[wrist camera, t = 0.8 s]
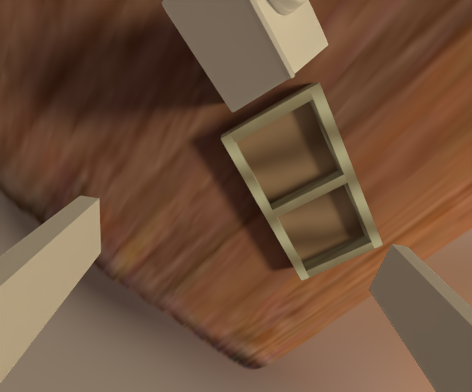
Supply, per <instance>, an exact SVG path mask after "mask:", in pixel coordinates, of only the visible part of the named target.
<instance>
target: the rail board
mask: <svg viewBox="0 0 472 392" xmlns="http://www.w3.org/2000/svg"><path fill="white" fill-rule="evenodd" d="M221 141H222V142H223V144H224V146H225V148H226V149H227V151H228V153H229V155H230V156H231V158H232V160H233V162H234V163H235V165H236V167H237V169H238V170H239V172H240V174H241V176H242V177H243V179H244V181H245V183H246V184H247V186H248V188H249V190H250V191H251V193H252V195H253V196H254V198H255V200H256V202H257V203H258V205H259V207H260V209H261V210H262V212H263V214H264V216H265V217H266V219H267V221H268V223H269V224H270V226H271V228H272V230H273V231H274V233H275V235H276V237H277V238H278V240H279V242H280V244H281V245H282V247H283V249H284V251H285V252H286V254H287V256H288V258H289V259H290V261H291V263H292V265H293V266H294V268H295V270H296V272H297V273H298V275H299V277H300V279H301V280H304V279H307V278H309V277H311V276H313V275H316V274H318V273H320V272H322V271H325V270H327V269H329V268H331V267H334V266H336V265H338V264H341V263H343V262H345V261H347V260H350V259H352V258H354V257H356V256H359V255H361V254H363V253H365V252H368V251H370V250H372V249H374V248H377V247H379V246H381V245H383V244H382V241H381V239H380V236H379V234H378V231H377V229H376V226H375V223H374V221H373V218H372V216H371V213H370V211H369V208H368V205H367V203H366V200H365V198H364V195H363V193H362V190H361V188H360V185H359V182H358V180H357V177H356V175H355V172H354V170H353V167H352V164H351V162H350V159H349V157H348V154H347V152H346V149H345V147H344V144H343V141H342V139H341V136H340V134H339V131H338V129H337V126H336V124H335V121H334V118H333V116H332V113H331V111H330V108H329V106H328V103H327V100H326V98H325V95H324V93H323V90H322V88H321V85H320V83H310V84H308V85H306V86H305V87H303V88H301V89H299V90H298V91H296V92H294V93H292V94H291V95H289V96H287V97H285V98H284V99H282V100H280V101H278V102H277V103H275V104H273V105H271V106H270V107H268V108H266V109H264V110H263V111H261V112H259V113H257V114H256V115H254V116H252V117H250V118H249V119H247V120H245V121H243V122H242V123H240V124H238V125H236V126H235V127H233V128H231V129H229V130H228V131H226V132H224V133H222V134H221Z"/></svg>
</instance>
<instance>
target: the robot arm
mask: <svg viewBox="0 0 472 392" xmlns="http://www.w3.org/2000/svg"><path fill="white" fill-rule="evenodd" d="M100 253H101V243H100V207H99V198H92V197H86V196H79V197H78V198H77V199H75V200H74V201H73V202H71V203H70V204H69V205H67V206H66V207H65V208H63V209H62V210H61V211H59V212H58V213H57V214H55V215H54V216H53V217H51V218H50V219H49V220H47V221H46V222H45V223H43V224H42V225H41V226H39V227H38V228H37V229H35V230H34V231H33V232H32V233H30V234H29V235H28V236H26V237H25V238H24V239H22V240H21V241H20V242H18V243H17V244H16V245H14V246H13V247H12V248H10V249H9V250H8V251H6V252H5V253H4V254H3V255H1V256H0V383H1V382H2V381H3V379H4V378H5V377H6V375H7V374H8V373H9V371H10V370H11V369H12V368H13V366H14V365H15V364H16V362H17V361H18V360H19V358H20V357H21V356H22V355H23V353H24V352H25V351H26V349H27V348H28V347H29V345H30V344H31V343H32V342H33V340H34V339H35V337H36V336H37V335H38V334H39V332H40V331H41V330H42V328H43V327H44V326H45V325H46V323H47V322H48V321H49V319H50V318H51V317H52V315H53V314H54V313H55V311H56V310H57V309H58V307H59V306H60V305H61V304H62V302H63V301H64V300H65V298H66V297H67V296H68V294H69V293H70V292H71V291H72V289H73V288H74V287H75V285H76V284H77V283H78V281H79V280H80V279H81V277H82V276H83V275H84V274H85V272H86V271H87V270H88V268H89V267H90V266H91V264H92V263H93V262H94V261H95V259H96V258H97V257H98V255H99V254H100ZM369 290H370V292H371V293H372V295H373V297H374V298H375V300H376V301H377V303H378V304H379V305H380V307H381V309H382V310H383V312H384V313H385V315H386V316H387V318H388V319H389V321H390V322H391V324H392V325H393V327H394V328H395V330H396V331H397V333H398V334H399V336H400V338H401V339H402V341H403V342H404V344H405V345H406V347H407V348H408V350H409V351H410V353H411V354H412V356H413V357H414V359H415V360H416V362H417V363H418V365H419V366H420V368H421V369H422V371H423V372H424V374H425V375H426V377H427V379H428V380H429V382H430V383H431V385H432V386H433V388H434V389H435V391H436V392H472V307H471V306H470V305H468V303H466V302H465V301H464V300H463V299H462V298H461V297H460V296H459V295H458V294H457V293H456V292H455V291H454V290H453V289H452V288H451V287H450V286H448V285H447V284H446V283H445V282H444V281H443V280H442V279H441V278H440V277H439V276H438V275H437V274H436V273H434V271H433V270H431V269H430V268H429V267H428V266H427V265H426V264H425V263H424V262H423V261H422V260H421V259H420V258H419V257H418V256H417V255H416V254H415V253H414V252H412V251H411V250H410V249H409V248H408V247H407V246H401V245H395V244H391V246H390V248H389V250H388V252H387V254H386V256H385V258H384V260H383V262H382V264H381V266H380V268H379V270H378V272H377V274H376V276H375V278H374V280H373V282H372V284H371V286H370V288H369Z"/></svg>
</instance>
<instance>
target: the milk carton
mask: <svg viewBox="0 0 472 392" xmlns="http://www.w3.org/2000/svg"><path fill="white" fill-rule="evenodd" d="M162 5H163V7H164V9H165V11H166V12H167V14H168V16H169V17H170V19H171V20H172V22H173V23H174V25H175V26H176V28H177V30H178V31H179V33H180V34H181V36H182V37H183V39H184V40H185V42H186V43H187V45H188V46H189V48H190V49H191V51H192V53H193V54H194V56H195V57H196V59H197V60H198V62H199V63H200V65H201V66H202V68H203V69H204V71H205V72H206V74H207V76H208V77H209V79H210V80H211V82H212V83H213V85H214V86H215V88H216V89H217V91H218V92H219V94H220V95H221V97H222V99H223V100H224V102H225V103H226V105H227V106H228V108H229V109H230V110H231V111H232V112H235V111H237V110H238V109H240V108H241V107H243V106H245V105H246V104H248V103H250V102H251V101H253V100H254V99H256V98H258V97H259V96H261V95H263V94H264V93H266V92H268V91H269V90H271V89H272V88H274V87H276V86H277V85H279V84H281V83H282V82H284V81H285V80H287V79H291V78H293V77H295V73H296V72H297V71H298V70H299V69H301V68H302V67H303V66H304V65H305V64H307V63H308V62H309V61H310V60H311V59H312V58H314V57H315V56H316V55H317V54H318V53H319V52H321V51H322V50H323V49H324V48H325V47H326V46H328V43H327V40H326V38H325V35H324V33H323V31H322V28H321V26H320V24H319V22H318V20H317V17H316V15H315V13H314V11H313V9H312V7H311V5H310V2H309V0H163V2H162Z"/></svg>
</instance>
